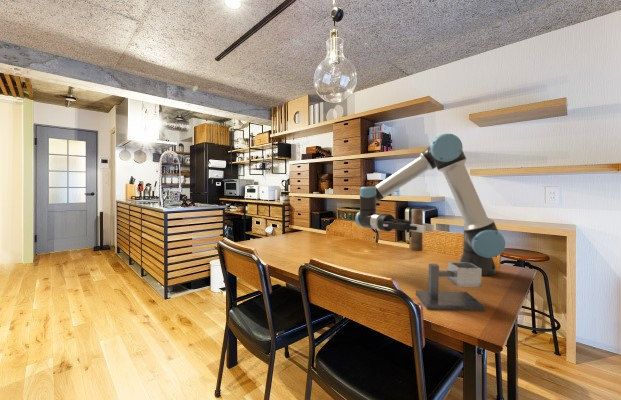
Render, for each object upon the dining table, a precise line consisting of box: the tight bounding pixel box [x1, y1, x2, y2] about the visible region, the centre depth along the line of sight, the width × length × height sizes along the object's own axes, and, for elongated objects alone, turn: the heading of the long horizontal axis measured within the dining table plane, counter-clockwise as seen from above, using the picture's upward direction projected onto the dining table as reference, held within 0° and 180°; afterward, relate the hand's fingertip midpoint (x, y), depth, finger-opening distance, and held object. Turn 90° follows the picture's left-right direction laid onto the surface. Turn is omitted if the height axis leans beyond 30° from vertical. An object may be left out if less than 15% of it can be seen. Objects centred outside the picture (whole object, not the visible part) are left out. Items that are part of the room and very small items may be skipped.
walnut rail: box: [410, 208, 424, 252], centre depth 110 cm, size 4×4×16 cm
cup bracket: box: [415, 261, 486, 312], centre depth 97 cm, size 18×12×13 cm, turn 86°
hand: (429, 228), depth 106 cm, fingers closed on walnut rail, 4 cm apart
